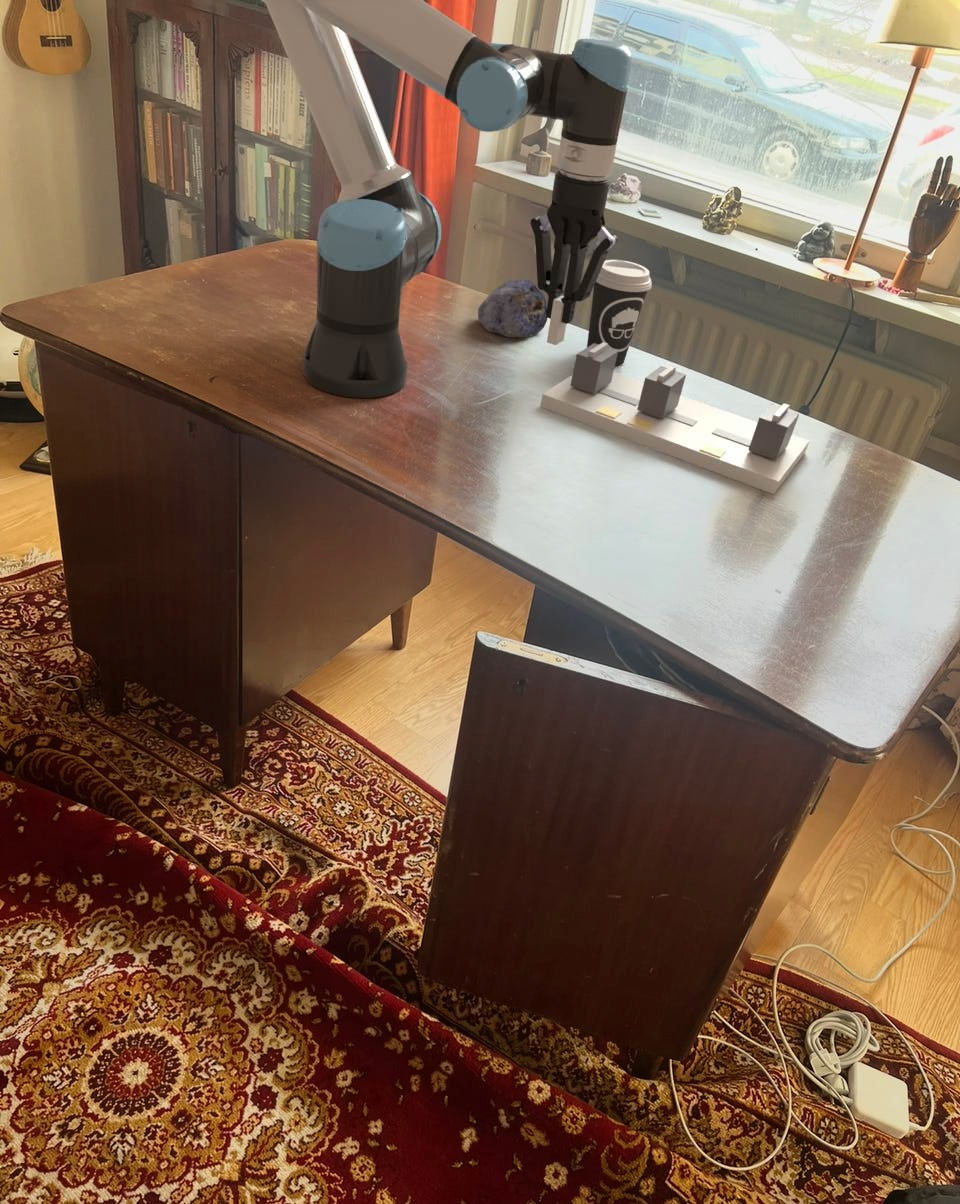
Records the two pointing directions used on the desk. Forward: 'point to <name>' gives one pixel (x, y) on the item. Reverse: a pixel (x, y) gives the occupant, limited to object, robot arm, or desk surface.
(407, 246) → the robot arm
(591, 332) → the coffee cup
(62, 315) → the desk surface
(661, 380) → the slider
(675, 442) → the console
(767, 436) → the slider
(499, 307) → the rock
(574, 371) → the slider
